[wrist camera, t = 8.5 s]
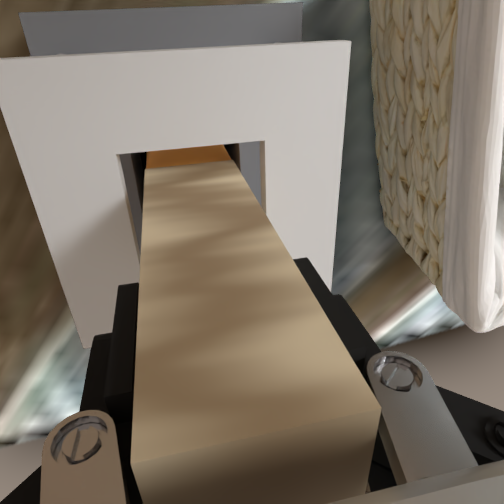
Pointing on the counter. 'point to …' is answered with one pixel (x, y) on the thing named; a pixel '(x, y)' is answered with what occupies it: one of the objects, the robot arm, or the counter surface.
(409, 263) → the counter surface
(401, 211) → the storage basket
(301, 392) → the wooden rectangular block
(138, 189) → the grey housing
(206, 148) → the plunger
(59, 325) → the counter surface
